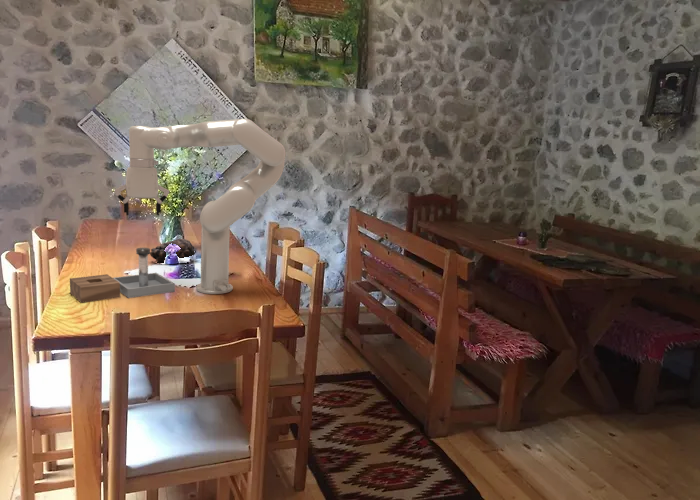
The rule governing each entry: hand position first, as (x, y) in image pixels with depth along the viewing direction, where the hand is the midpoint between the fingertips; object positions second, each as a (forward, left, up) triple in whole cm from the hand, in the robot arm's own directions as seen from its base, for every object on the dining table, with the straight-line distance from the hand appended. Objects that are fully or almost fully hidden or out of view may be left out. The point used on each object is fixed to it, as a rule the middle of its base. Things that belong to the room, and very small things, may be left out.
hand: (142, 214), depth 197 cm
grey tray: (0, 0, -26) cm, 26 cm away
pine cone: (+31, -24, -26) cm, 47 cm away
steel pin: (0, 0, -25) cm, 25 cm away
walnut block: (0, +16, -26) cm, 31 cm away
